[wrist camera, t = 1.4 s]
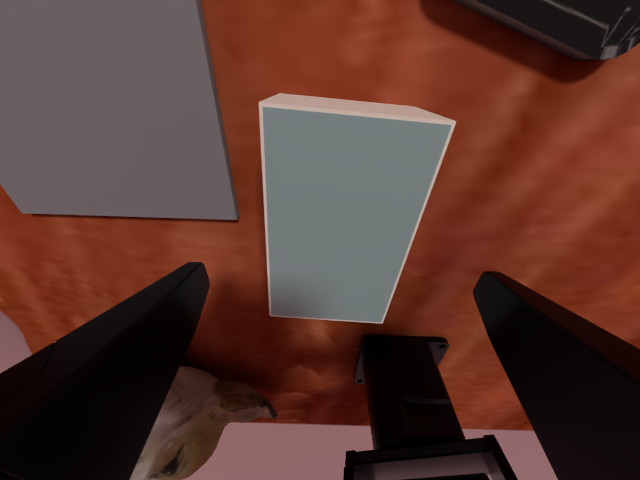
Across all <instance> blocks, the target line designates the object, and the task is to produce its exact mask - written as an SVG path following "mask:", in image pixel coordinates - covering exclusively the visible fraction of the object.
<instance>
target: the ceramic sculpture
mask: <svg viewBox="0 0 640 480" xmlns="http://www.w3.org/2000/svg"><path fill="white" fill-rule="evenodd" d="M260 416H261V417H267V418H278V414H277V412H276V411H275V409H274V408H273V407H272V405H271V404H270V403H269V401H268V400H267V399H266V398H265V397H264V396H263V395H262V394H260V393H259V392H258V391H257V390H256V389H255V388H253V387H252V386H250V385H247V384H244V383H240V382H231V381H219V380H218V379H217V378H216V377H214V376H213V375H211V374H209V373H207V372H205V371H202V370H199V369H196V368H193V367H189V366H180V367H179V370H178V372H177V374H176V376H175V379H174V381H173V383H172V385H171V388H170V390H169V392H168V394H167V397H166V399H165V401H164V403H163V406H162V408H161V410H160V412H159V415H158V417H157V419H156V422H155V424H154V426H153V428H152V431H151V433H150V435H149V437H148V440H147V442H146V444H145V446H144V449H143V451H142V453H141V455H140V458H139V460H138V462H137V464H136V467H135V469H134V471H133V473H132V476H131V478H130V480H182V479H185V478H187V477H189V476H191V475H192V474H193V473H194V472H195V471H197V470H198V469H199V468H200V467H201V466H202V465H204V464H205V463H206V461H207V460H208V459H209V458H210V457H211V455H212V454H213V452H214V450H215V449H216V447H217V444H218V441H219V439H220V436H221V434H222V431H223V429H224V427H225V426H226V425H227V424H228V423H230V422H241V423H242V422H248V421H251V420H254V419H256V418H258V417H260Z"/></svg>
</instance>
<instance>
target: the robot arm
mask: <svg viewBox="0 0 640 480" xmlns="http://www.w3.org/2000/svg"><path fill="white" fill-rule="evenodd" d="M209 286H210V282H209V278H208V275H207V272H206V268H205V265H204V264H203V263H202V262H188V263H186V264H185V265H183V266H181V267H180V268H178V269H176V270H175V271H173V272H171V273H170V274H168V275H166V276H165V277H163V278H161V279H159V280H158V281H156V282H154V283H153V284H151V285H149V286H148V287H146V288H144V289H143V290H141V291H139V292H138V293H136V294H134V295H133V296H131V297H129V298H127V299H126V300H124V301H122V302H121V303H119V304H117V305H116V306H114V307H112V308H111V309H109V310H107V311H106V312H104V313H102V314H101V315H99V316H97V317H95V318H94V319H92V320H90V321H89V322H87V323H85V324H84V325H82V326H80V327H79V328H77V329H75V330H74V331H72V332H70V333H69V334H67V335H65V336H63V337H62V338H60V339H58V340H57V341H56V343H52V344H50V345H48V346H47V347H45V348H43V349H42V350H40V351H38V352H37V353H35V354H33V355H31V356H30V357H28V358H26V359H25V360H23V361H21V362H19V363H18V364H16V365H14V366H12V367H11V368H9V369H8V370H6V371H4V372H2V373H1V374H0V480H130V478H131V476H132V473H133V471H134V469H135V467H136V464H137V462H138V460H139V458H140V455H141V453H142V451H143V449H144V446H145V444H146V442H147V440H148V437H149V435H150V433H151V431H152V428H153V426H154V424H155V422H156V419H157V417H158V415H159V412H160V410H161V408H162V406H163V403H164V401H165V399H166V397H167V394H168V392H169V390H170V388H171V385H172V383H173V381H174V379H175V376H176V374H177V372H178V370H179V367H180V365H181V363H182V361H183V358H184V356H185V354H186V351H187V349H188V347H189V345H190V342H191V340H192V338H193V335H194V333H195V331H196V328H197V325H198V322H199V319H200V315H201V312H202V309H203V306H204V303H205V300H206V296H207V293H208V290H209ZM473 295H474V299H475V301H476V304H477V307H478V310H479V312H480V315H481V318H482V320H483V323H484V326H485V329H486V331H487V334H488V336H489V339H490V341H491V343H492V345H493V348H494V350H495V352H496V354H497V356H498V358H499V360H500V362H501V364H502V366H503V368H504V370H505V372H506V374H507V376H508V378H509V380H510V382H511V384H512V386H513V389H514V391H515V393H516V395H517V397H518V399H519V401H520V403H521V405H522V407H523V409H524V411H525V413H526V415H527V417H528V419H529V421H530V423H531V425H532V427H533V429H534V431H535V433H536V435H537V438H538V440H539V442H540V444H541V446H542V448H543V450H544V452H545V454H546V456H547V458H548V460H549V462H550V464H551V466H552V468H553V470H554V472H555V474H556V476H557V478H558V480H640V349H638V348H637V347H635V346H633V345H631V344H629V343H628V342H626V341H624V340H622V339H620V338H618V337H617V336H615V335H613V334H611V333H609V332H608V331H606V330H604V329H602V328H600V327H599V326H597V325H595V324H593V323H591V322H589V321H588V320H586V319H584V318H582V317H580V316H579V315H577V314H575V313H573V312H571V311H569V310H568V309H566V308H564V307H562V306H560V305H559V304H557V303H555V302H553V301H551V300H550V299H548V298H546V297H544V296H542V295H540V294H539V293H537V292H535V291H533V290H531V289H530V288H528V287H526V286H524V285H522V284H520V283H519V282H517V281H515V280H513V279H511V278H510V277H508V276H506V275H504V274H502V273H500V272H497V271H485V272H483V273H482V275H481V276H480V278H479V280H478V282H477V284H476V286H475V288H474V290H473ZM448 347H449V344H448V341H447V339H445V338H436V337H402V336H364V337H363V338H362V340H361V345H360V349H359V354H358V359H357V364H356V368H355V373H354V382H355V383H357V384H365V389H366V396H367V404H368V411H369V419H370V426H371V434H372V441H373V449H374V450H368V451H359V452H356V451H355V450H351V451H346V461H345V466H346V467H344V480H489V478H488V476H487V474H490V476H491V478H492V480H518V479H517V478H516V475H515V474H514V472H513V470H512V468H511V466H510V464H509V462H508V460H507V459H506V457H505V455H504V453H503V451H502V449H501V447H500V445H499V443H498V442H497V440H496V438H495V436H494V435H484V436H483V438H476V439H468V440H466V439H465V436H464V434H463V431H462V429H461V426H460V423H459V421H458V418H457V416H456V413H455V411H454V408H453V405H452V403H451V400H450V397H449V395H448V392H447V389H446V387H445V384H444V382H443V379H442V377H441V374H440V371H439V369H438V365H439V363H440V361H441V360H442V358H443V356H444V354H445V353H446V351H447V349H448Z"/></svg>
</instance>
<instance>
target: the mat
mask: <svg viewBox="0 0 640 480" xmlns="http://www.w3.org/2000/svg"><path fill="white" fill-rule="evenodd" d="M0 184H1V186H2V187H3V188H4V190H5V191H6V192H7V194H8V195H9V196H10V198H11V199H12V200H13V202H14V203H15V205H16V206H17V207H18V209H19V210H20V211H21V213H32V214H63V215H94V216H126V217H157V218H189V219H220V220H237V219H238V217H239V212H238V207H237V201H236V196H235V190H234V185H233V179H232V173H231V168H230V162H229V157H228V151H227V146H226V140H225V135H224V129H223V123H222V118H221V112H220V107H219V101H218V96H217V90H216V84H215V79H214V73H213V68H212V62H211V57H210V51H209V46H208V40H207V34H206V29H205V23H204V18H203V12H202V7H201V1H200V0H0Z"/></svg>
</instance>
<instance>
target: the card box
mask: <svg viewBox="0 0 640 480" xmlns="http://www.w3.org/2000/svg"><path fill="white" fill-rule="evenodd" d="M259 116H260V136H261V156H262V176H263V196H264V216H265V236H266V256H267V276H268V296H269V315H270V316H276V317H291V318H306V319H320V320H335V321H350V322H365V323H380V324H383V321H384V318H385V316H386V313H387V310H388V307H389V305H390V302H391V299H392V296H393V294H394V291H395V288H396V285H397V283H398V280H399V277H400V274H401V272H402V269H403V266H404V264H405V261H406V258H407V255H408V253H409V250H410V247H411V244H412V242H413V239H414V236H415V233H416V231H417V228H418V225H419V223H420V220H421V217H422V214H423V212H424V209H425V206H426V203H427V201H428V198H429V195H430V192H431V190H432V187H433V184H434V181H435V179H436V176H437V173H438V171H439V168H440V165H441V162H442V160H443V157H444V154H445V151H446V149H447V146H448V143H449V140H450V138H451V135H452V132H453V130H454V127H455V124H456V121H454V120H451V119H448V118H445V117H443V116H440V115H437V114H434V113H431V112H428V111H426V110H423V109H420V108H417V107H412V106H402V105H392V104H382V103H372V102H362V101H352V100H342V99H332V98H322V97H312V96H302V95H292V94H282V93H279V94H277V95H275V96H272V97H270V98H267V99H265V100H263V101H260V102H259Z"/></svg>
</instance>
